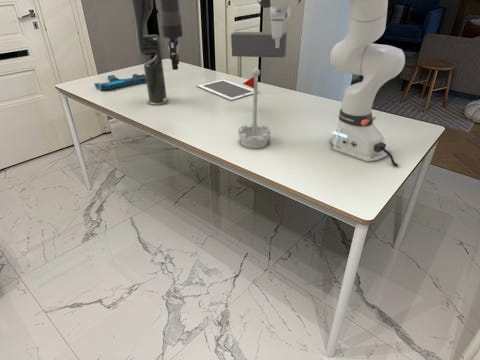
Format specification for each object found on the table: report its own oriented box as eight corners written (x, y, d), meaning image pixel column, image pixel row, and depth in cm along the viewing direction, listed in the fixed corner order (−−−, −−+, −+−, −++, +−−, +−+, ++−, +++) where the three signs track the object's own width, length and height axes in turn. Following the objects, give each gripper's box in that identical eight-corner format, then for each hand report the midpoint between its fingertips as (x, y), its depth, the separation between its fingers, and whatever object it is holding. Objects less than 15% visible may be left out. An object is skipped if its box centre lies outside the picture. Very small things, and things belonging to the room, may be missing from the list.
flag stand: (262, 133, 147) (264, 62, 131) (275, 146, 137) (280, 71, 121) (234, 138, 144) (233, 65, 127) (245, 151, 133) (246, 74, 117)
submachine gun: (139, 68, 225) (157, 74, 208) (140, 74, 227) (158, 80, 210) (87, 78, 206) (102, 86, 190) (88, 84, 208) (104, 92, 192)
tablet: (197, 86, 202) (197, 85, 202) (223, 79, 213) (223, 79, 213) (231, 100, 182) (231, 99, 181) (258, 92, 193) (258, 91, 193)
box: (285, 54, 159) (286, 32, 153) (284, 57, 154) (285, 34, 148) (235, 53, 164) (234, 31, 158) (231, 56, 159) (231, 34, 154)
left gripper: (163, 20, 135) (167, 62, 144) (159, 26, 123) (165, 71, 132) (182, 20, 135) (185, 62, 144) (180, 26, 123) (184, 71, 132)
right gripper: (276, 9, 156) (275, 41, 164) (269, 15, 139) (268, 50, 147) (290, 9, 155) (288, 41, 162) (284, 15, 138) (282, 51, 146)
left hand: (175, 66), depth 138 cm, fingers open, 8 cm apart
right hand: (278, 46), depth 154 cm, fingers closed on box, 6 cm apart
